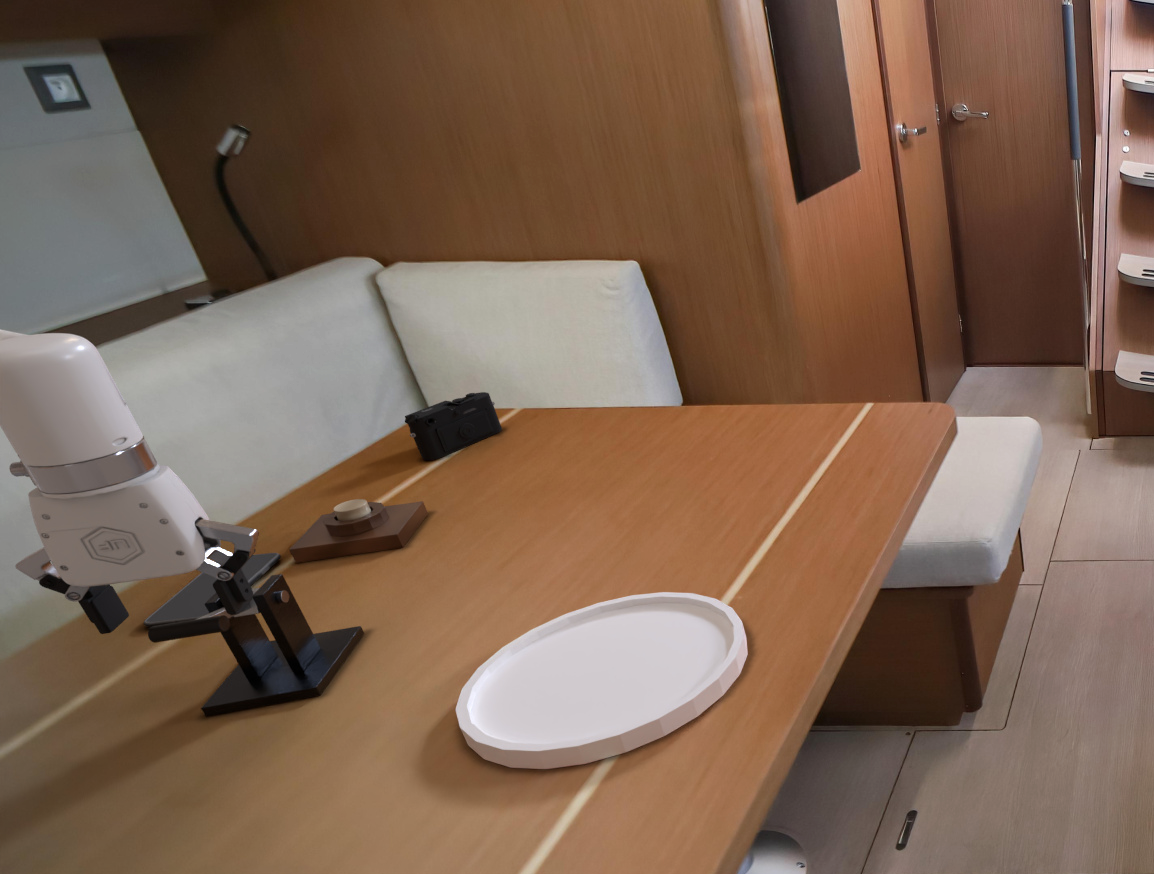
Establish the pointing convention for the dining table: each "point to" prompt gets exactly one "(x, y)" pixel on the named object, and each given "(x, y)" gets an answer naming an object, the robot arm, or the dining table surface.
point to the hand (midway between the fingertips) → (179, 616)
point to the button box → (360, 532)
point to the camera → (453, 425)
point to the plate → (602, 680)
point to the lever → (199, 624)
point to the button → (352, 509)
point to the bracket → (277, 653)
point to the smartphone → (205, 593)
